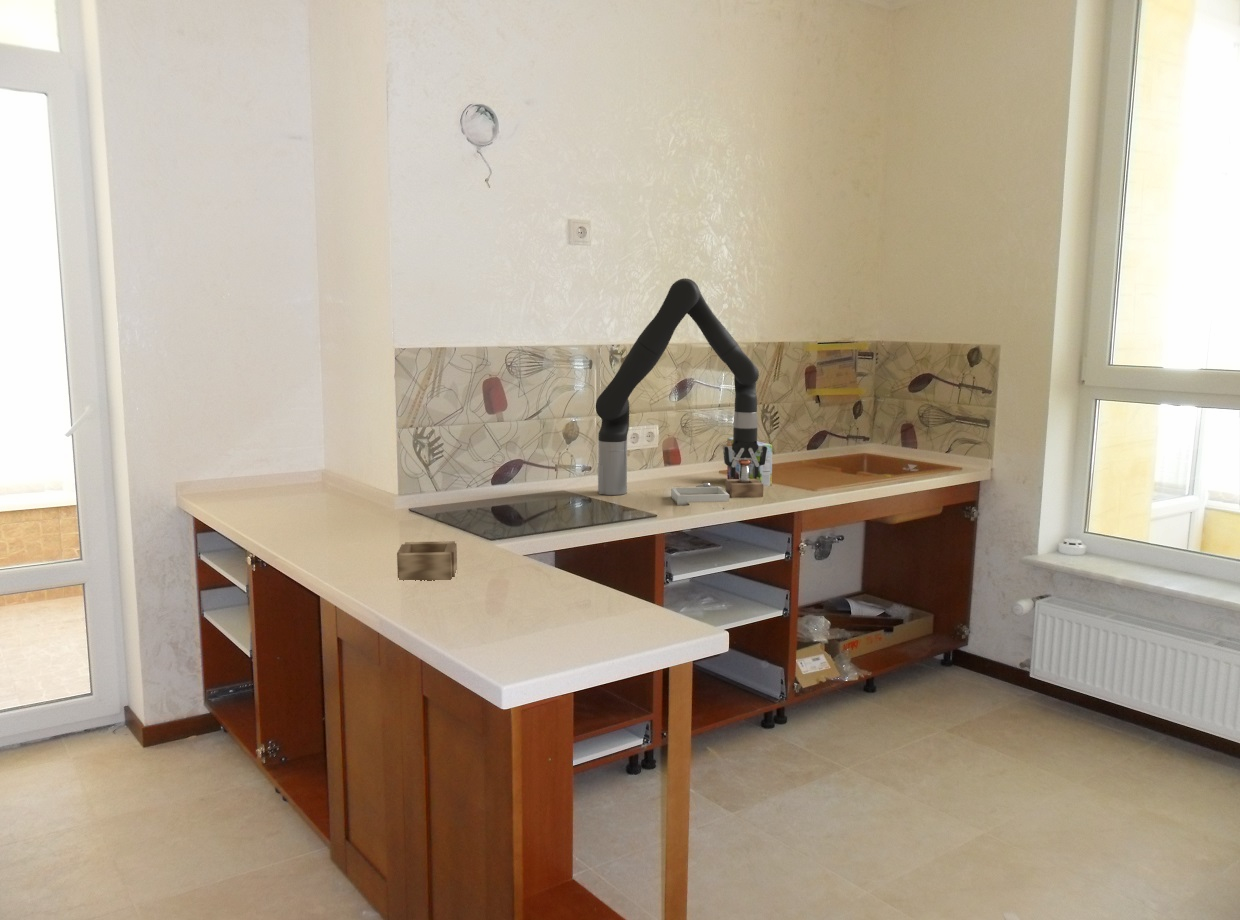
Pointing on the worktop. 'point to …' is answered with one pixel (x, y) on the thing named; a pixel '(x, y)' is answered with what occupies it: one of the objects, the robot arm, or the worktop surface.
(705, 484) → the pulley
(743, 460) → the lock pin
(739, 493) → the wooden box
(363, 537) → the worktop surface
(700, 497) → the tray
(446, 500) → the worktop surface
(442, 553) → the box
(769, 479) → the snack box
